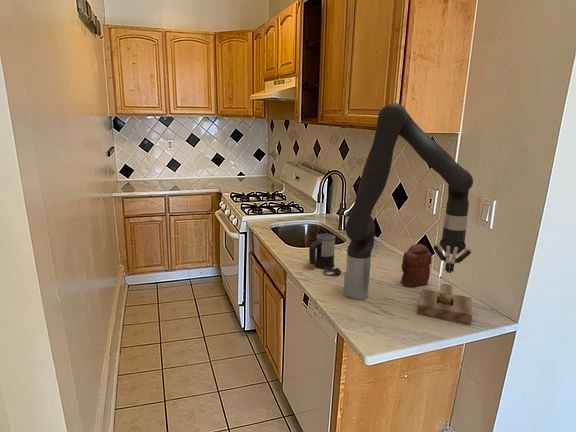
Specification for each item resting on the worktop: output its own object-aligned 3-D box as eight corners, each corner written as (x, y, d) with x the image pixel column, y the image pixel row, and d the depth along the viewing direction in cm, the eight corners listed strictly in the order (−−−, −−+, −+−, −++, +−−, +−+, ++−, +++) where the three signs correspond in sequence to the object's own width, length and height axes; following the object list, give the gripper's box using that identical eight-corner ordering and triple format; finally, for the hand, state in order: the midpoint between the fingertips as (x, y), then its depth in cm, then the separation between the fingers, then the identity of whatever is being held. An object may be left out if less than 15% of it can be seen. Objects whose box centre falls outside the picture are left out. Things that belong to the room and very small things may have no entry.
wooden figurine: (420, 279, 171) (425, 240, 166) (430, 285, 165) (434, 245, 160) (397, 282, 168) (401, 243, 163) (406, 288, 162) (410, 248, 157)
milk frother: (321, 260, 191) (322, 232, 187) (350, 268, 183) (352, 238, 179) (306, 270, 180) (306, 239, 176) (336, 278, 171) (337, 247, 167)
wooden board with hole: (416, 314, 142) (417, 304, 141) (420, 297, 154) (421, 288, 153) (470, 325, 135) (472, 314, 134) (470, 307, 147) (471, 297, 146)
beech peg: (437, 312, 144) (440, 287, 141) (438, 307, 147) (441, 282, 145) (449, 314, 142) (452, 289, 139) (449, 309, 146) (452, 284, 143)
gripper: (434, 227, 135) (428, 272, 140) (475, 231, 130) (469, 279, 135) (435, 221, 142) (430, 265, 146) (475, 225, 137) (468, 271, 141)
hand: (449, 272), depth 140 cm, fingers closed
